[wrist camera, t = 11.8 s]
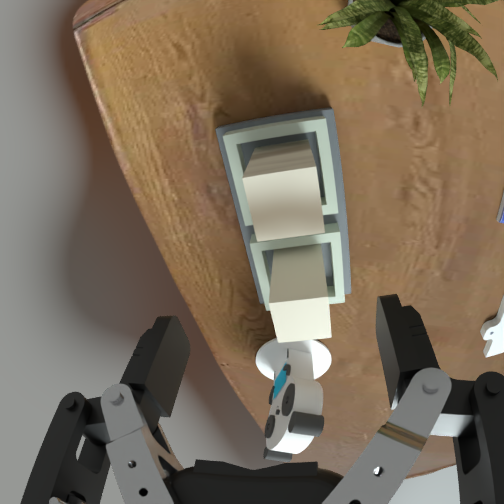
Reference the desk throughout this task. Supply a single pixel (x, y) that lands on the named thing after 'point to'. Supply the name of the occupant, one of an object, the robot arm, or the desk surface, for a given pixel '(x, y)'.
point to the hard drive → (501, 211)
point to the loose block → (283, 191)
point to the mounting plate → (494, 333)
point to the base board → (301, 247)
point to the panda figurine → (293, 394)
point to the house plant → (413, 32)
